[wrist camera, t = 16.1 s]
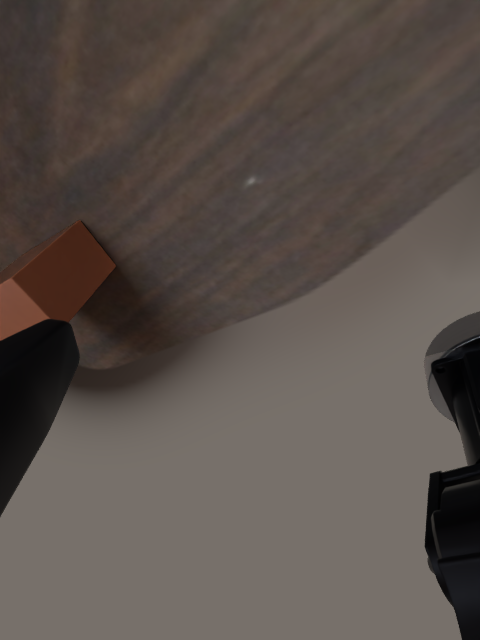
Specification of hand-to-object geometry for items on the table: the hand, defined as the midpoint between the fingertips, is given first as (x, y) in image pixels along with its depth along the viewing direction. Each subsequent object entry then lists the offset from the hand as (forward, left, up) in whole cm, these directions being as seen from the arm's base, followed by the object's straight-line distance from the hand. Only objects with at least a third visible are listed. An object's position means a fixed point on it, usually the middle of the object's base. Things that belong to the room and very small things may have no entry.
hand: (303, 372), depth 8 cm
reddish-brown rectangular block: (+1, +15, -13) cm, 20 cm away
